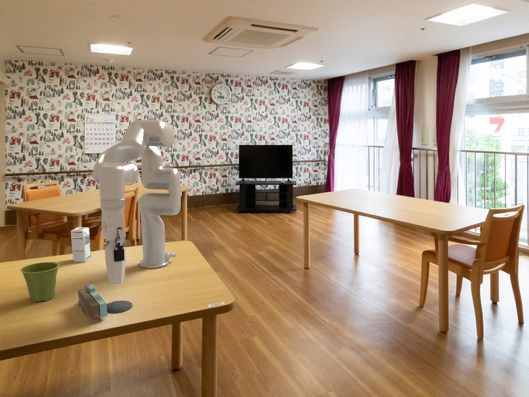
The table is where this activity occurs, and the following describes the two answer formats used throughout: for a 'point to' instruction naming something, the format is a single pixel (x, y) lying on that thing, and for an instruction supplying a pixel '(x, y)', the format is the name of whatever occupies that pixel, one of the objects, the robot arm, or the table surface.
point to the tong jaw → (98, 301)
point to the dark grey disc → (118, 306)
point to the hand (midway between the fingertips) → (115, 257)
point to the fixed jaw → (88, 304)
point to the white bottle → (114, 265)
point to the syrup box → (81, 244)
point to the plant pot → (40, 280)
